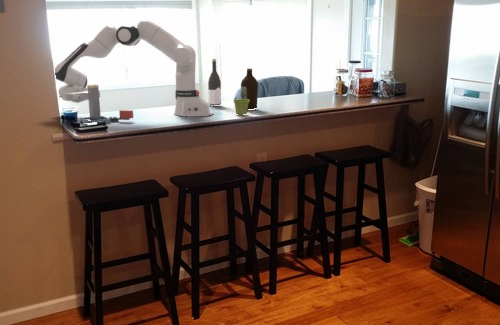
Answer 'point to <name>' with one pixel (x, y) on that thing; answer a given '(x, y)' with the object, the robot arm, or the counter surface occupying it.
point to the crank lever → (124, 115)
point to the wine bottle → (214, 86)
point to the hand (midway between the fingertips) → (87, 96)
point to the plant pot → (241, 106)
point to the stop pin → (94, 102)
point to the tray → (107, 120)
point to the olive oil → (249, 89)
